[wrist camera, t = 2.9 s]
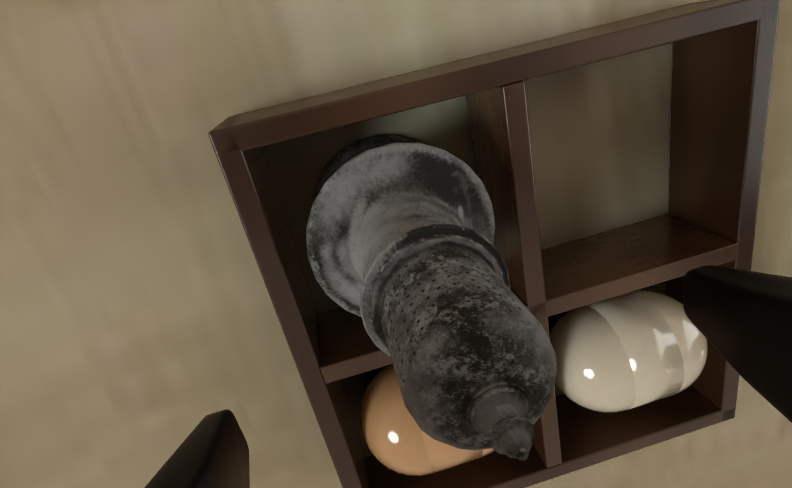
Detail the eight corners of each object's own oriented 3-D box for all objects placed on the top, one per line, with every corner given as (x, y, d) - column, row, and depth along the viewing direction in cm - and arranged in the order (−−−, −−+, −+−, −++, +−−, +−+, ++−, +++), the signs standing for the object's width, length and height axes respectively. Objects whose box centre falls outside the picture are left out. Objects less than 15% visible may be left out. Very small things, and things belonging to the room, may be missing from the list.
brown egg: (486, 312, 20) (532, 375, 16) (498, 390, 22) (543, 464, 18) (343, 355, 19) (353, 432, 15) (367, 431, 21) (382, 517, 17)
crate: (690, 2, 17) (782, -11, 13) (676, 369, 23) (735, 418, 20) (227, 117, 15) (207, 132, 12) (354, 472, 22) (363, 542, 19)
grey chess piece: (319, 288, 18) (343, 640, 7) (291, 136, 16) (264, 314, 5) (463, 263, 19) (684, 547, 8) (456, 116, 17) (753, 227, 6)
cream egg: (656, 261, 21) (741, 310, 17) (655, 340, 22) (731, 402, 18) (522, 301, 20) (577, 361, 16) (532, 379, 22) (583, 451, 18)
